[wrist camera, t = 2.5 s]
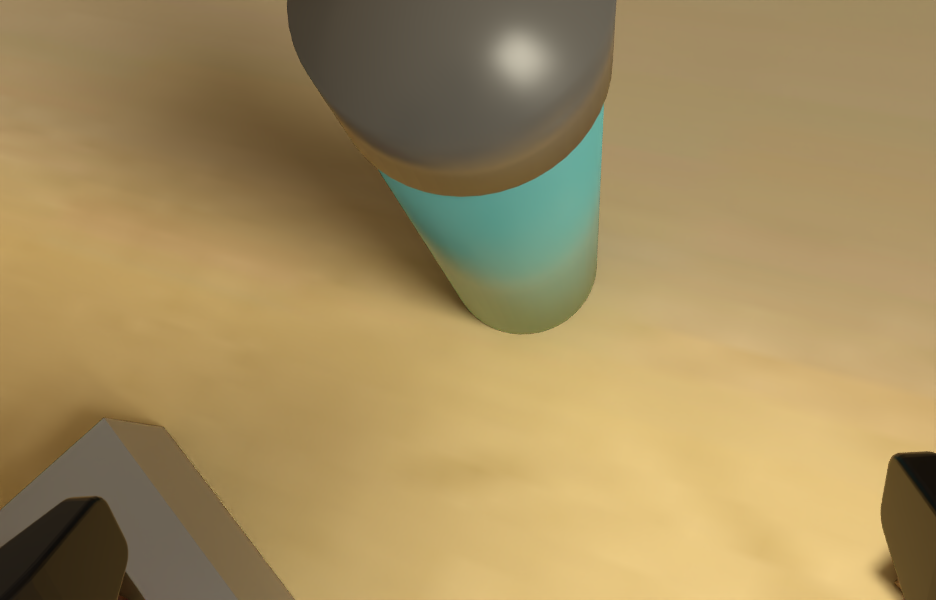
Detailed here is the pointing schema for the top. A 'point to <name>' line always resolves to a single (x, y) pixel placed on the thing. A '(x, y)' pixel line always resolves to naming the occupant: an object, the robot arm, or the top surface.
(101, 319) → the top surface
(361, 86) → the marker
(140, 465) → the button box
